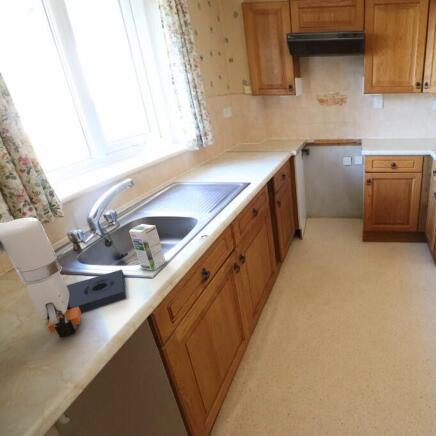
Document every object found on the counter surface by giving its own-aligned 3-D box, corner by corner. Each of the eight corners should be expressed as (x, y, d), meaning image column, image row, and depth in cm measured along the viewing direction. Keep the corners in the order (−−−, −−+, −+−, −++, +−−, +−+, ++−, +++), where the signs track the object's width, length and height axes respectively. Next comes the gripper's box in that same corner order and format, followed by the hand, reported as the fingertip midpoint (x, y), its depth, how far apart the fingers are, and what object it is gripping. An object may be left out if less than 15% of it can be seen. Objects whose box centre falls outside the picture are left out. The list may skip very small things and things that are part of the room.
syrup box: (140, 269, 108) (127, 230, 102) (153, 259, 113) (142, 222, 107) (154, 271, 107) (141, 232, 101) (167, 261, 112) (155, 224, 106)
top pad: (54, 340, 80) (47, 327, 78) (57, 328, 84) (50, 315, 82) (83, 330, 83) (77, 317, 81) (84, 319, 87) (78, 306, 85)
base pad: (49, 323, 86) (45, 316, 85) (55, 295, 97) (52, 289, 96) (126, 298, 94) (123, 291, 93) (124, 275, 105) (121, 269, 104)
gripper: (26, 258, 81) (55, 315, 88) (10, 294, 67) (46, 356, 75) (63, 249, 84) (88, 304, 92) (55, 281, 71) (85, 342, 78)
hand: (69, 327), depth 83 cm, fingers closed on top pad, 5 cm apart
